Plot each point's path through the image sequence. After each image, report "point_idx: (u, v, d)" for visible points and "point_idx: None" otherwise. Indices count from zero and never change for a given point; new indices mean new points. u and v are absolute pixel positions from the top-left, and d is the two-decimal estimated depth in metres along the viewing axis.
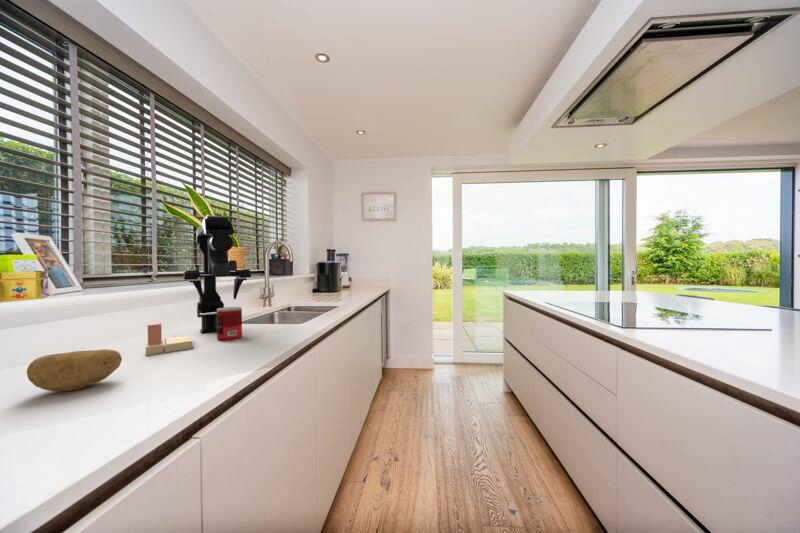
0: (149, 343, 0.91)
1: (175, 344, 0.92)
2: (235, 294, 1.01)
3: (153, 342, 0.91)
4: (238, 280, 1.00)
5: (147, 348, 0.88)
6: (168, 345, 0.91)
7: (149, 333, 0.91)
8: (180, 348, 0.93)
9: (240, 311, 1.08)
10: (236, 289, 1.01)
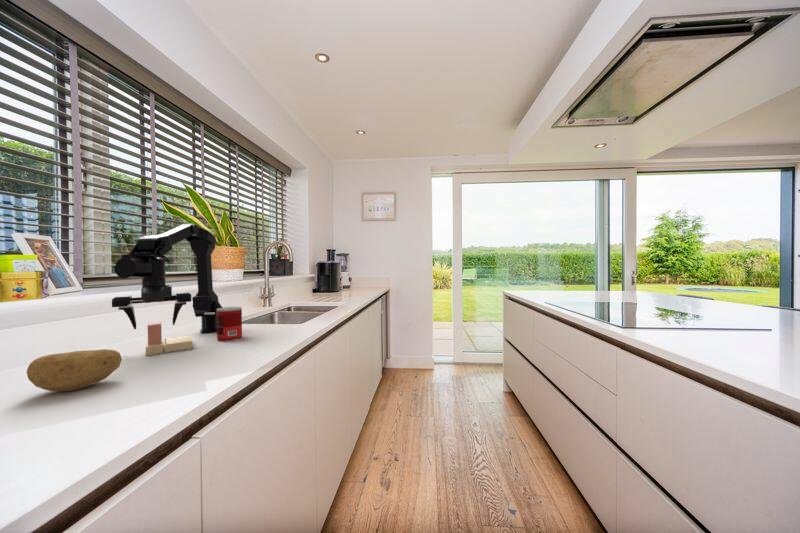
0: (149, 343, 0.91)
1: (175, 344, 0.92)
2: (174, 320, 0.95)
3: (153, 342, 0.91)
4: (176, 305, 0.94)
5: (147, 348, 0.88)
6: (168, 345, 0.91)
7: (149, 333, 0.91)
8: (180, 348, 0.93)
9: (240, 311, 1.08)
10: (175, 314, 0.95)
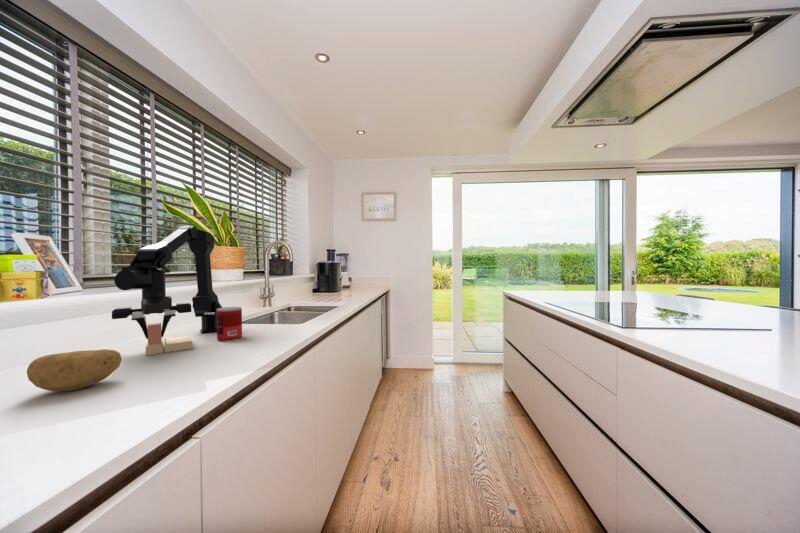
0: (149, 343, 0.91)
1: (175, 344, 0.92)
2: (162, 332, 0.93)
3: (153, 342, 0.91)
4: (165, 317, 0.93)
5: (147, 348, 0.88)
6: (168, 345, 0.91)
7: (149, 333, 0.91)
8: (180, 348, 0.93)
9: (240, 311, 1.08)
10: (163, 326, 0.93)
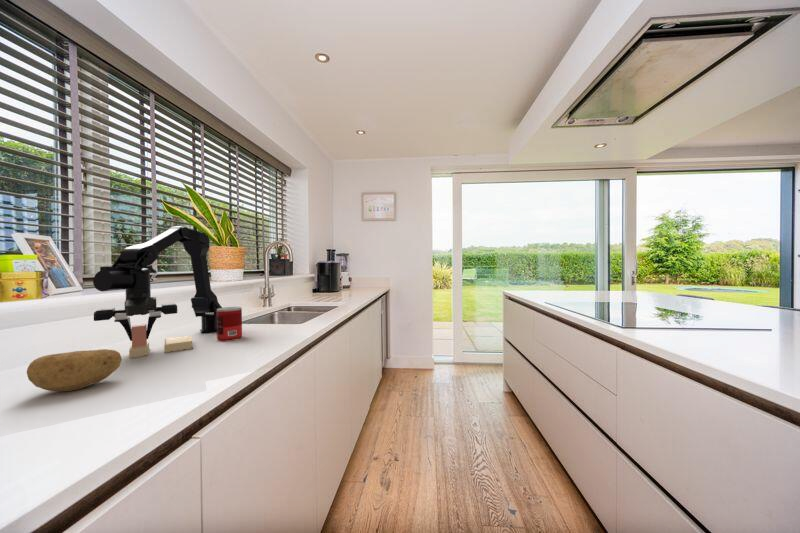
0: (133, 345, 0.88)
1: (175, 344, 0.92)
2: (147, 333, 0.91)
3: (137, 344, 0.89)
4: (149, 318, 0.90)
5: (131, 350, 0.86)
6: (168, 345, 0.91)
7: (133, 335, 0.88)
8: (180, 348, 0.93)
9: (240, 311, 1.08)
10: (148, 328, 0.91)
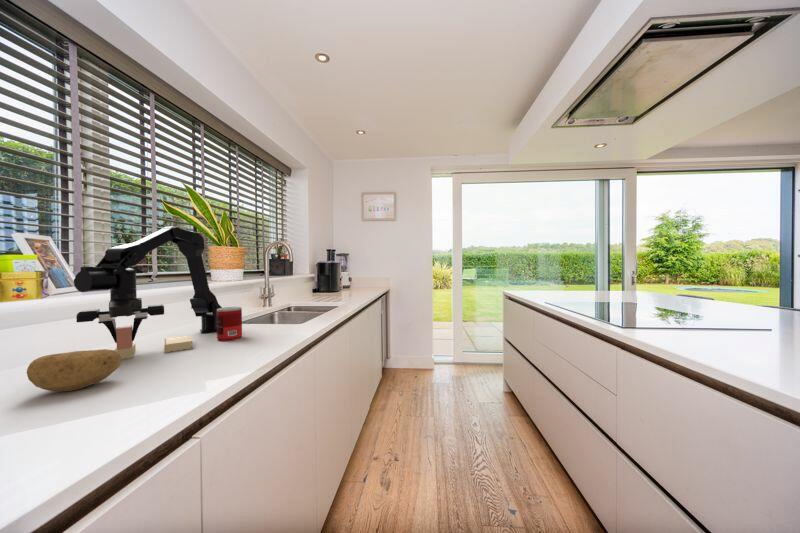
0: (118, 347, 0.86)
1: (175, 344, 0.92)
2: (133, 335, 0.89)
3: (122, 346, 0.87)
4: (135, 320, 0.88)
5: None
6: (168, 345, 0.91)
7: (118, 337, 0.86)
8: (180, 348, 0.93)
9: (240, 311, 1.08)
10: (134, 329, 0.89)
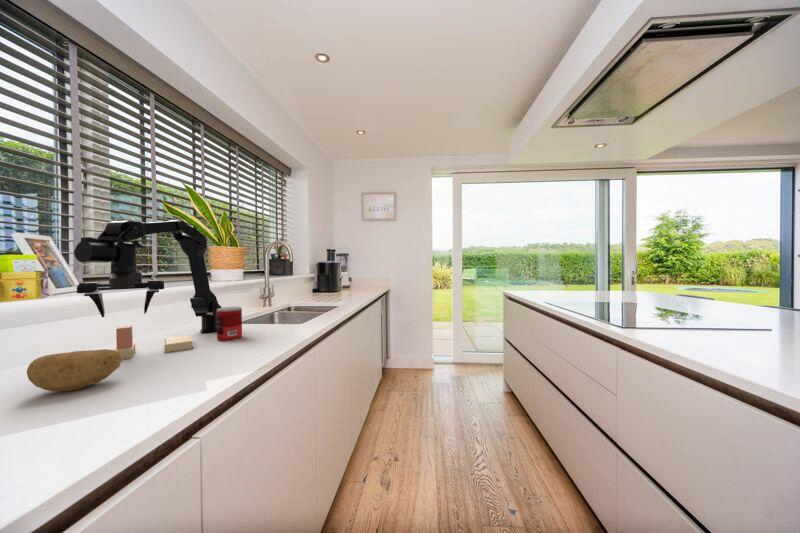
0: (118, 347, 0.86)
1: (175, 344, 0.92)
2: (145, 308, 0.91)
3: (122, 346, 0.87)
4: (147, 292, 0.90)
5: None
6: (168, 345, 0.91)
7: (118, 337, 0.86)
8: (180, 348, 0.93)
9: (240, 311, 1.08)
10: (146, 302, 0.91)
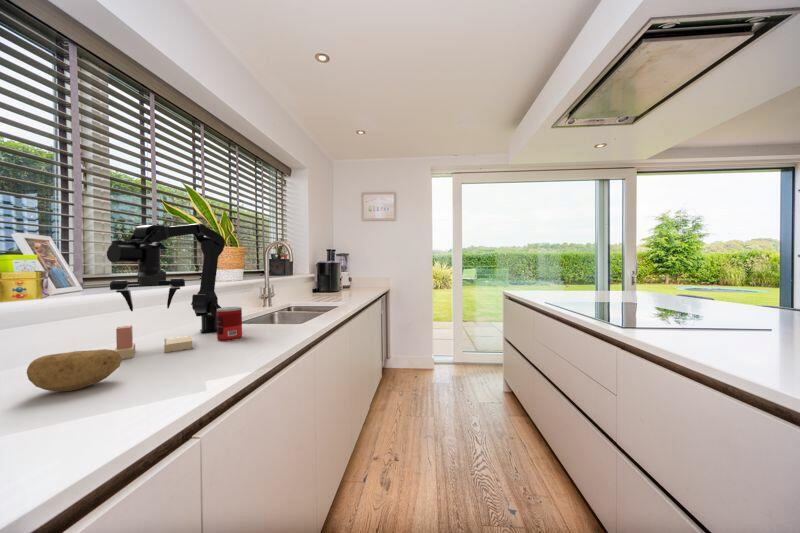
0: (118, 347, 0.86)
1: (175, 344, 0.92)
2: (168, 303, 1.02)
3: (122, 346, 0.87)
4: (170, 289, 1.01)
5: None
6: (168, 345, 0.91)
7: (118, 337, 0.86)
8: (180, 348, 0.93)
9: (240, 311, 1.08)
10: (169, 298, 1.01)
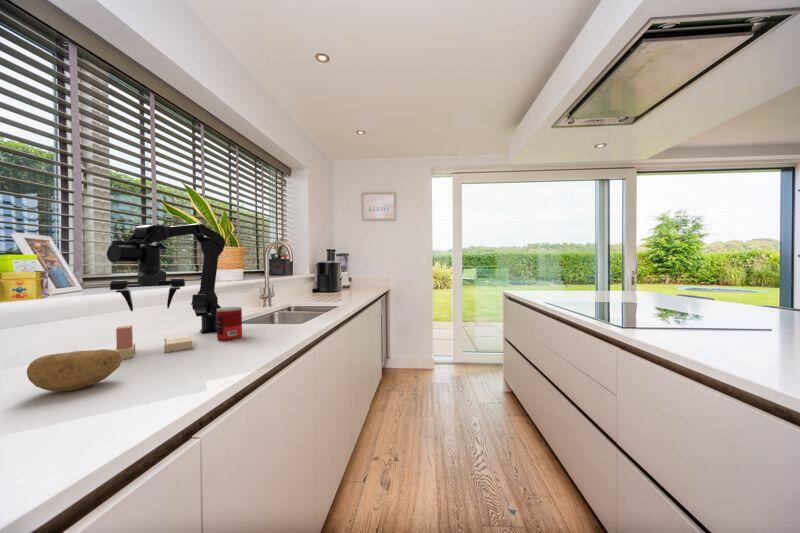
0: (118, 347, 0.86)
1: (175, 344, 0.92)
2: (168, 303, 1.02)
3: (122, 346, 0.87)
4: (170, 289, 1.01)
5: None
6: (168, 345, 0.91)
7: (118, 337, 0.86)
8: (180, 348, 0.93)
9: (240, 311, 1.08)
10: (169, 298, 1.01)
